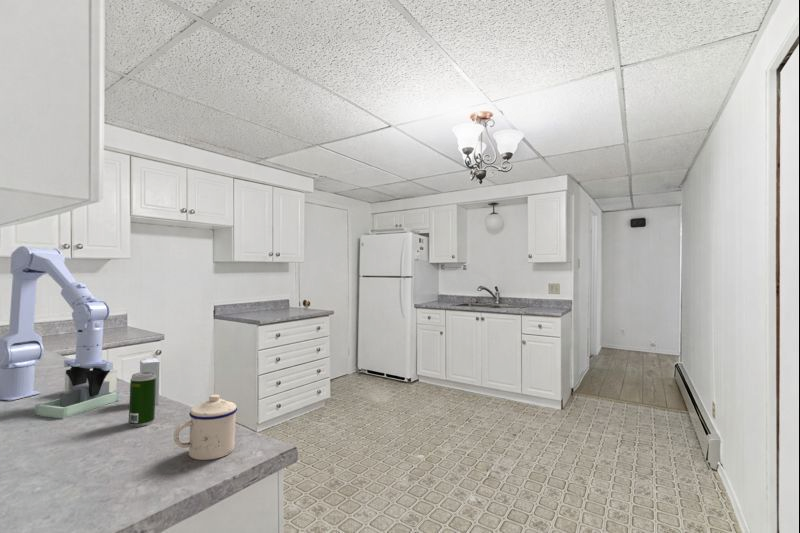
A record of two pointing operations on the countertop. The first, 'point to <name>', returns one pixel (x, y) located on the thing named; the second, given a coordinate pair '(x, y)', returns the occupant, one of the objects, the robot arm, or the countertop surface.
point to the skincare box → (152, 366)
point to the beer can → (142, 399)
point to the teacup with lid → (210, 429)
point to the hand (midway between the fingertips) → (86, 394)
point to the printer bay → (110, 377)
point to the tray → (73, 406)
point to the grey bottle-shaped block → (81, 394)
